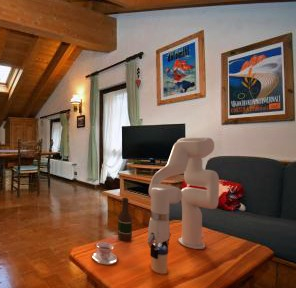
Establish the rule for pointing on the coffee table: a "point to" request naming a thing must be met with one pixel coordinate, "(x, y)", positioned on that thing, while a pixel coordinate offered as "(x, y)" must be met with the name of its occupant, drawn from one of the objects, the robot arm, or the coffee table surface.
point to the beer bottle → (125, 222)
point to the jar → (159, 264)
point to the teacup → (104, 254)
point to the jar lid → (162, 249)
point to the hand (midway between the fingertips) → (159, 254)
